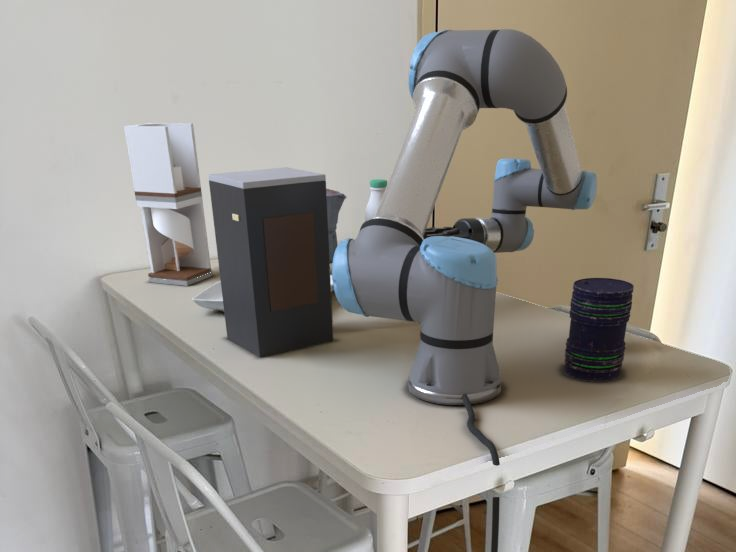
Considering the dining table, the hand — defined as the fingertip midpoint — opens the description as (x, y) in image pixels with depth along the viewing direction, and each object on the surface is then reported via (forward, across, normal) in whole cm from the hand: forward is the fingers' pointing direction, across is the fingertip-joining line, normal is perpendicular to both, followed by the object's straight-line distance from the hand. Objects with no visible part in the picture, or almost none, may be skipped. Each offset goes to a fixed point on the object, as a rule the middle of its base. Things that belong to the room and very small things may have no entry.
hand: (388, 241), depth 156 cm
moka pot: (-19, +56, -14) cm, 61 cm away
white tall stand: (+21, +60, -18) cm, 65 cm away
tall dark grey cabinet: (+25, 0, -18) cm, 30 cm away
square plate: (+13, +26, -17) cm, 33 cm away
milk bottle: (-33, +48, -13) cm, 59 cm away
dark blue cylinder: (-9, -49, -15) cm, 52 cm away
